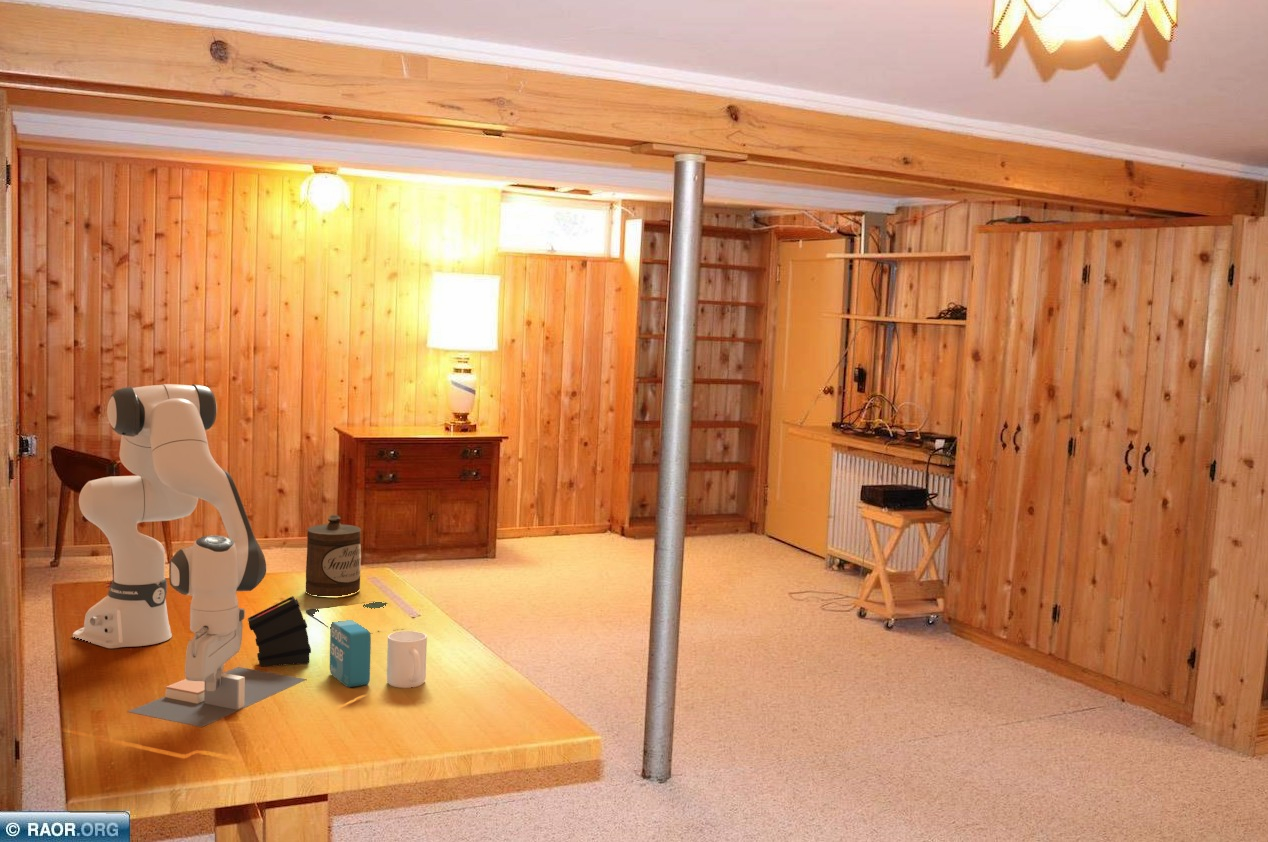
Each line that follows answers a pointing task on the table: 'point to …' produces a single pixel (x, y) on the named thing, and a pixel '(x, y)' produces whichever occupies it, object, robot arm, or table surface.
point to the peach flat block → (186, 691)
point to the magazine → (281, 634)
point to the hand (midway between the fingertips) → (213, 688)
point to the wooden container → (333, 559)
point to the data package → (350, 653)
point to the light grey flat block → (227, 692)
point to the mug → (406, 659)
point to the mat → (204, 714)
